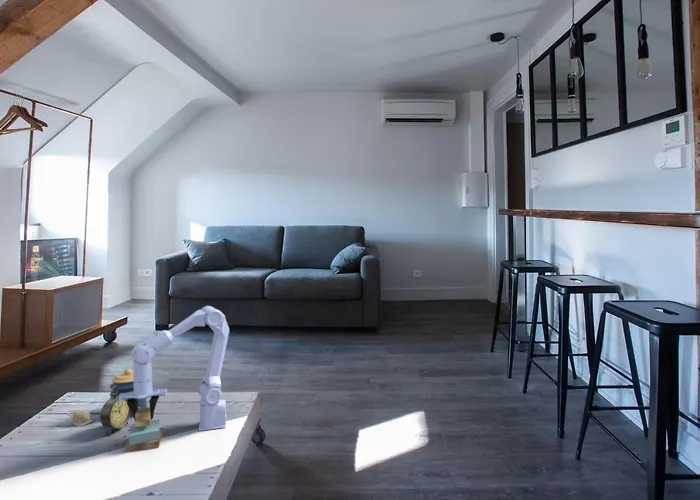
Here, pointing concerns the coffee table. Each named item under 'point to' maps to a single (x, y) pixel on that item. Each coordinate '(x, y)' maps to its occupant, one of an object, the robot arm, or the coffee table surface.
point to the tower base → (144, 444)
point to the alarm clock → (115, 413)
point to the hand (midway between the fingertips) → (144, 418)
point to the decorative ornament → (81, 417)
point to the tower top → (144, 433)
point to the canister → (125, 386)
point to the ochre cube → (143, 417)
